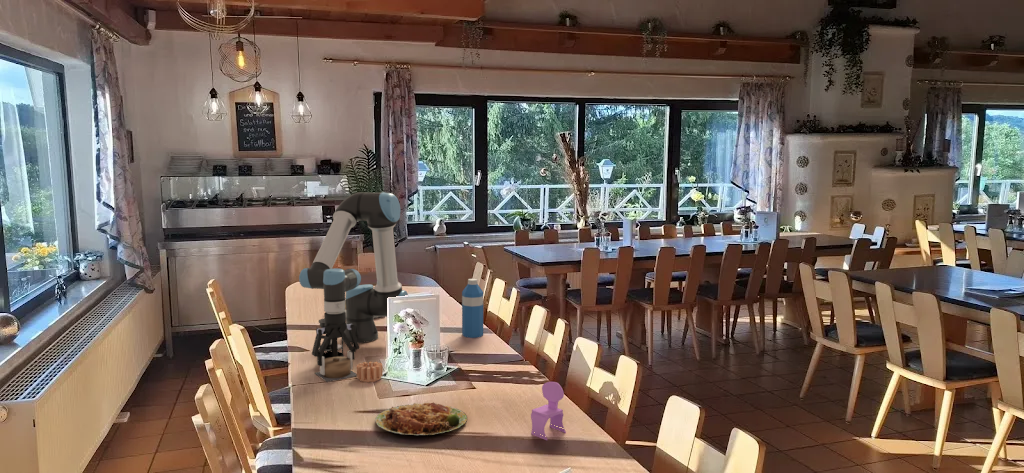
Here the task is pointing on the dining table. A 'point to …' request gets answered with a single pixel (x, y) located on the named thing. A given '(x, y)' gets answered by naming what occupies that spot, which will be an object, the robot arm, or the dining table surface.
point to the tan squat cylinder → (337, 367)
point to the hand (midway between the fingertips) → (336, 371)
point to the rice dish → (421, 419)
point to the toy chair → (548, 410)
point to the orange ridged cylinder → (369, 371)
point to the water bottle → (472, 310)
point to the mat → (335, 378)
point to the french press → (331, 345)
